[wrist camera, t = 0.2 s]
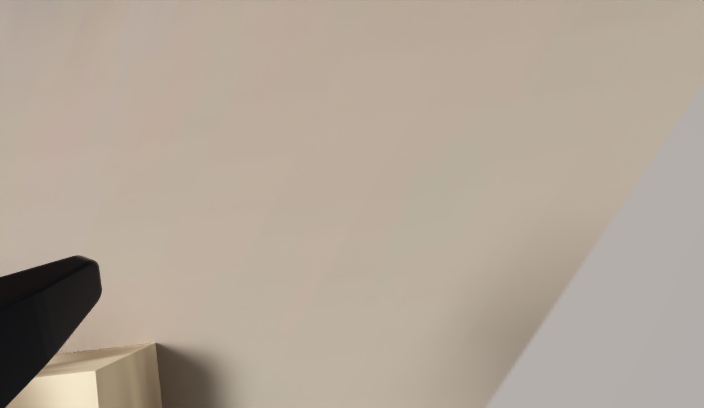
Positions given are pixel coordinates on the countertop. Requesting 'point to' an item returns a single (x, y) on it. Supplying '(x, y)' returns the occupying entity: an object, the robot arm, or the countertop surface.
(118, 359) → the maple block
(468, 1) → the countertop surface
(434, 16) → the countertop surface
